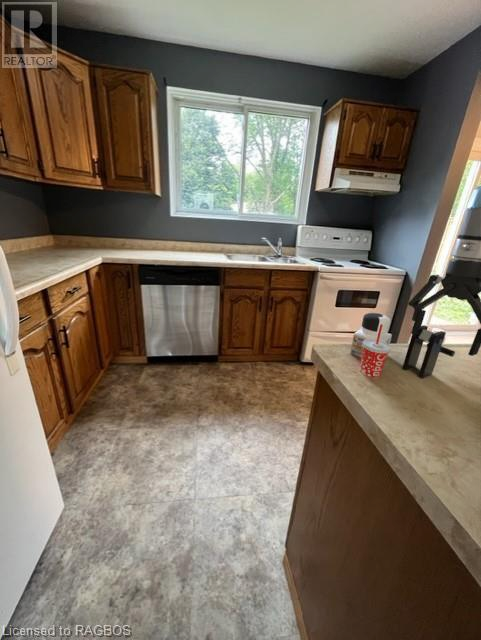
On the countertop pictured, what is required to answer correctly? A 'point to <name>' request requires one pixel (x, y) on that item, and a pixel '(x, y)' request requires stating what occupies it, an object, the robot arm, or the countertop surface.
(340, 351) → the countertop surface
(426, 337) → the lever
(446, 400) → the countertop surface
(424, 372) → the bracket
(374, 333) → the container
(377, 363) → the beverage cup
